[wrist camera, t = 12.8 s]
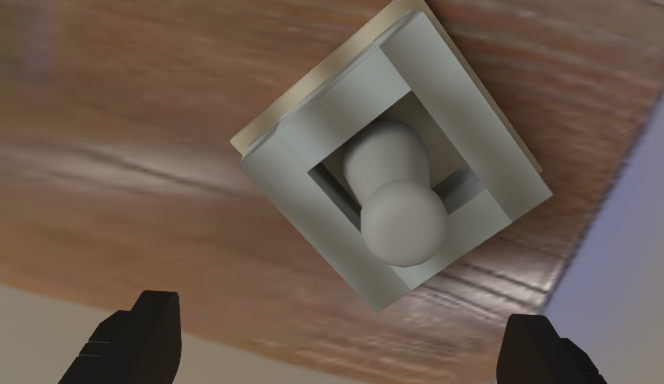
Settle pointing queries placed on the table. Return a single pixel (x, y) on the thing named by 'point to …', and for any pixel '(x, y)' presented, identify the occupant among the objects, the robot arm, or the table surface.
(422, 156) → the salt shaker
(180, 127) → the table surface
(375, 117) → the caddy
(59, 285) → the table surface
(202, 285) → the table surface
